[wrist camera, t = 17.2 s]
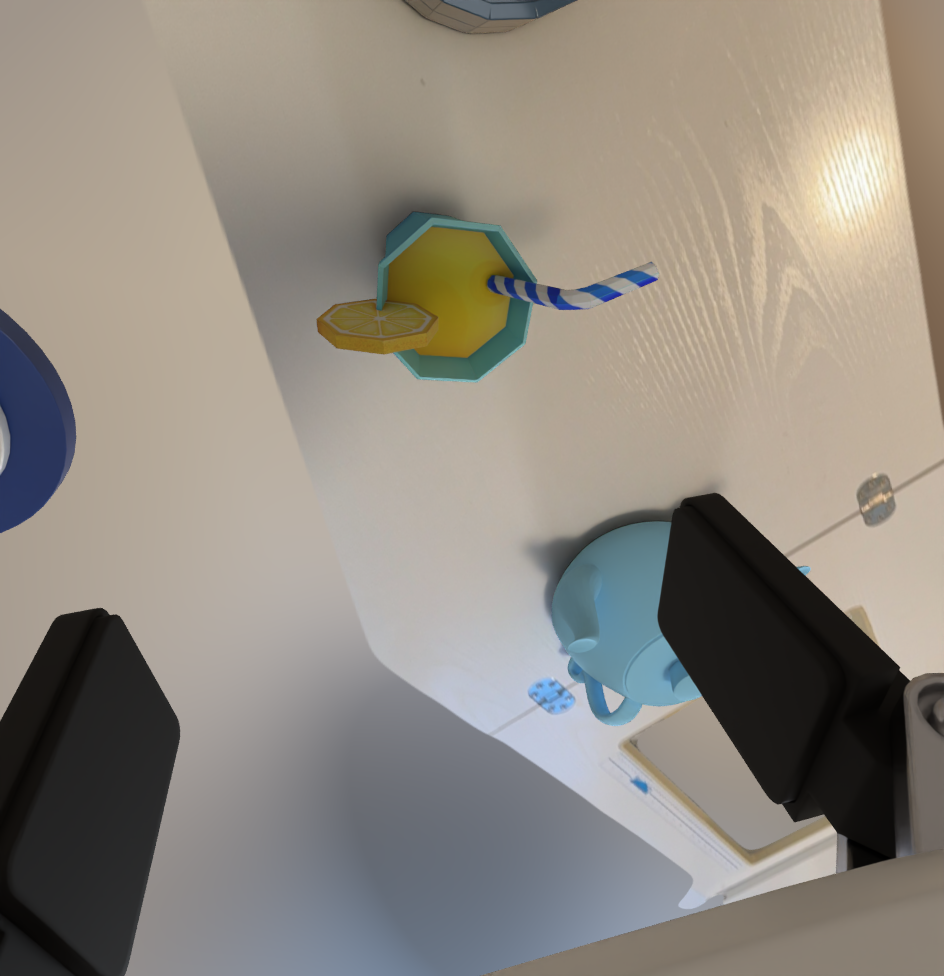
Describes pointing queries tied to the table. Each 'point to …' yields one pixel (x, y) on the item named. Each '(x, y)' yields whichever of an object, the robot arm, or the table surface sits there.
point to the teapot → (621, 622)
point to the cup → (456, 299)
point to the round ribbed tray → (485, 13)
